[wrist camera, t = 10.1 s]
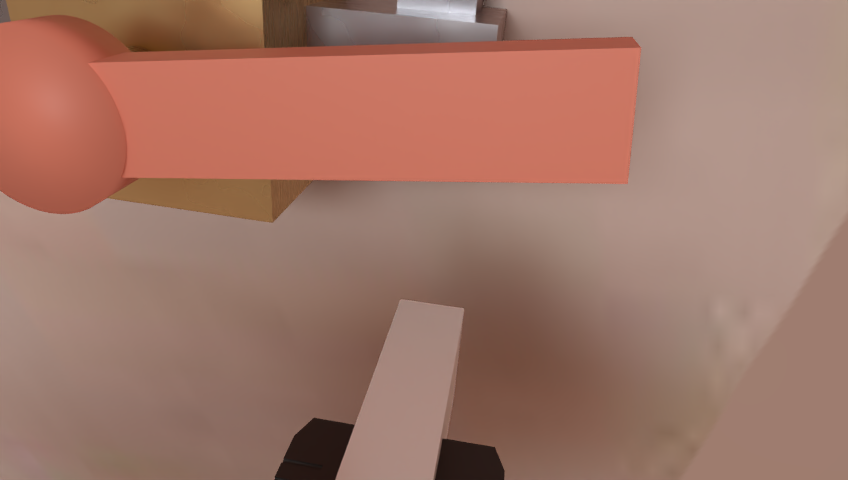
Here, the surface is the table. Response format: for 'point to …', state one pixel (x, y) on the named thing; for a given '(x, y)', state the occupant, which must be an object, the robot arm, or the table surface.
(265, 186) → the valve
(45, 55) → the lever
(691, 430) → the table surface
